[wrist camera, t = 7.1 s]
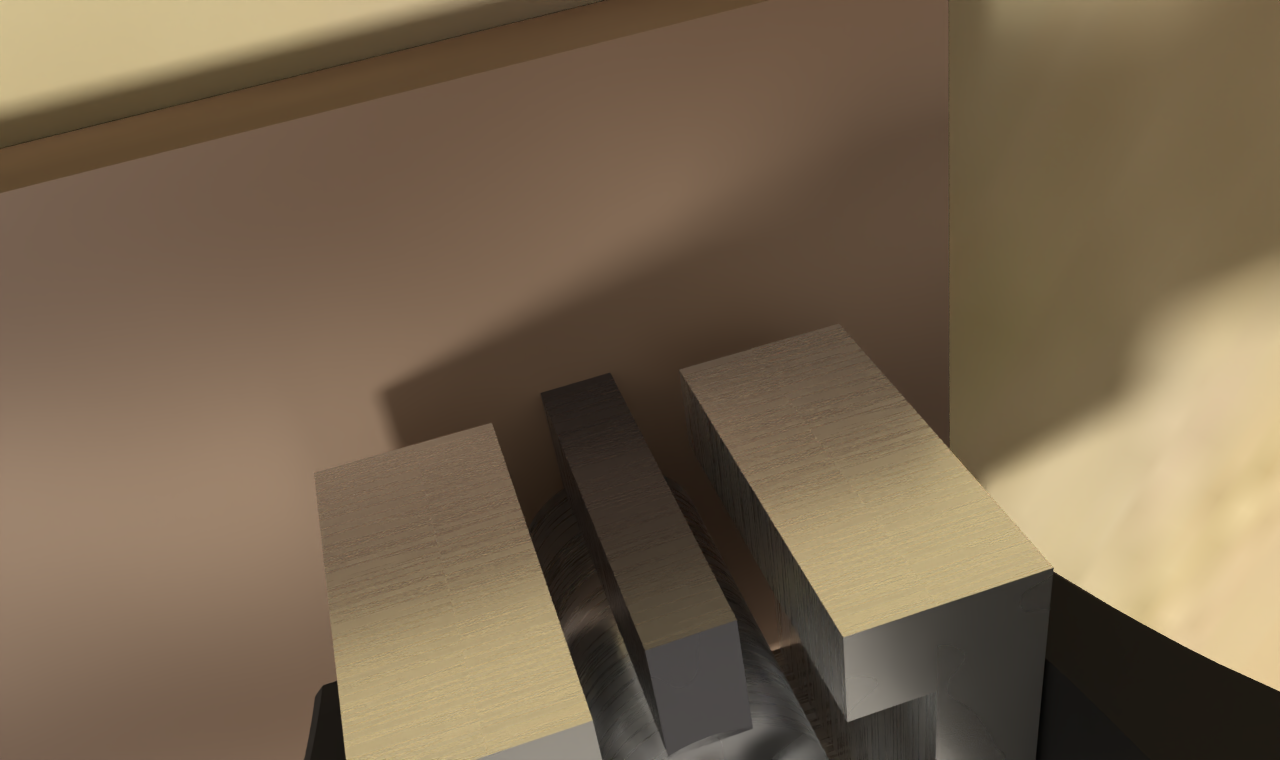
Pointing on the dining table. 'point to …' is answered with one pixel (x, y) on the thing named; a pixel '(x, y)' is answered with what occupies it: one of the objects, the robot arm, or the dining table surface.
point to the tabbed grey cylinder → (653, 602)
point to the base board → (418, 318)
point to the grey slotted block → (778, 540)
